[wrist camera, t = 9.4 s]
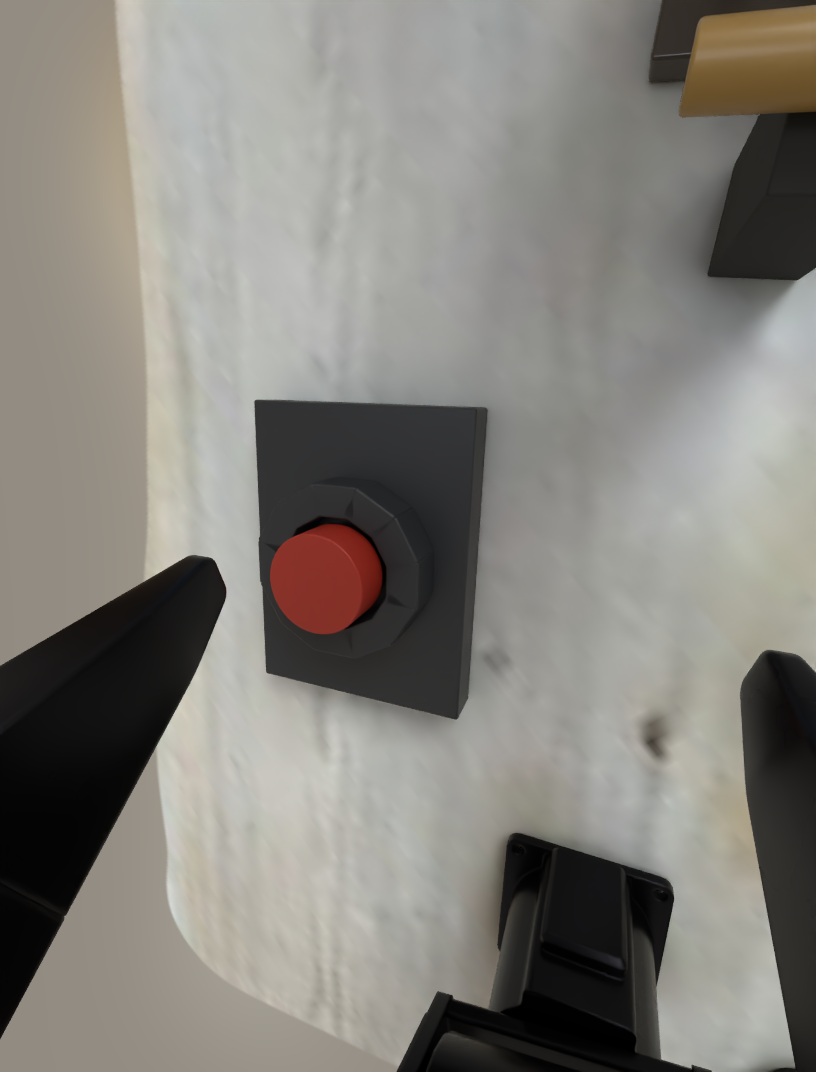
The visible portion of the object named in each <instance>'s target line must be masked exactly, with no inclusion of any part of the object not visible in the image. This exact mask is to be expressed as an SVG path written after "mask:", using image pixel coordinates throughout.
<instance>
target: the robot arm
mask: <svg viewBox="0 0 816 1072" xmlns="http://www.w3.org/2000/svg"><path fill="white" fill-rule="evenodd" d="M225 599H226V586H225V584H224V581H223V579H222V576H221V574H220V572H219V569H218V567H217V564H216V562H215V561H214V560H213V559H212V558H209V557H203V556H197V555H191V556H188V557H186V558H184V559H182V560H181V561H179V562H177V563H175V564H174V565H172V566H170V567H169V568H167V569H165V570H163V571H162V572H160V573H158V574H157V575H155V576H153V577H151V578H150V579H148V580H146V581H145V582H143V583H141V584H140V585H138V586H136V587H134V588H133V589H131V590H129V591H128V592H126V593H124V594H122V595H121V596H119V597H117V598H116V599H114V600H112V601H110V602H109V603H107V604H105V605H104V606H102V607H100V608H98V609H97V610H95V611H93V612H92V613H90V614H88V615H86V616H85V617H83V618H81V619H80V620H78V621H76V622H74V623H73V624H71V625H69V626H68V627H66V628H64V629H62V630H61V631H59V632H57V633H56V634H54V635H52V636H51V637H49V638H47V639H45V640H44V641H42V642H40V643H38V644H37V645H35V646H33V647H32V648H30V649H28V650H26V651H25V652H23V653H21V654H20V655H18V656H16V657H14V658H13V659H11V660H9V661H8V662H6V663H4V664H3V665H1V666H0V1038H1V1037H2V1035H3V1033H4V1031H5V1029H6V1027H7V1025H8V1024H9V1022H10V1020H11V1018H12V1016H13V1014H14V1012H15V1010H16V1008H17V1007H18V1005H19V1003H20V1001H21V999H22V997H23V995H24V994H25V992H26V990H27V988H28V986H29V984H30V982H31V980H32V979H33V977H34V975H35V973H36V971H37V969H38V968H39V966H40V964H41V962H42V960H43V958H44V956H45V954H46V952H47V951H48V949H49V947H50V945H51V943H52V941H53V939H54V938H55V936H56V934H57V932H58V930H59V928H60V926H61V924H62V923H63V921H64V916H65V915H66V914H67V913H68V911H69V909H70V906H71V905H72V903H73V901H74V899H75V898H76V896H77V894H78V892H79V890H80V888H81V886H82V885H83V883H84V881H85V879H86V877H87V875H88V873H89V871H90V869H91V867H92V866H93V864H94V862H95V860H96V858H97V856H98V855H99V853H100V851H101V849H102V847H103V845H104V843H105V841H106V840H107V838H108V836H109V834H110V832H111V830H112V828H113V827H114V825H115V823H116V821H117V819H118V817H119V815H120V813H121V811H122V810H123V808H124V806H125V804H126V802H127V800H128V798H129V796H130V795H131V793H132V791H133V789H134V787H135V785H136V783H137V781H138V780H139V778H140V776H141V774H142V772H143V770H144V768H145V767H146V765H147V763H148V761H149V759H150V757H151V755H152V753H153V752H154V750H155V748H156V746H157V744H158V742H159V740H160V739H161V737H162V735H163V733H164V731H165V729H166V727H167V725H168V724H169V722H170V720H171V718H172V716H173V714H174V712H175V710H176V709H177V707H178V705H179V703H180V701H181V699H182V697H183V695H184V694H185V692H186V690H187V688H188V686H189V684H190V682H191V680H192V678H193V676H194V674H195V672H196V670H197V668H198V666H199V663H200V661H201V659H202V656H203V654H204V651H205V649H206V646H207V644H208V641H209V639H210V636H211V634H212V632H213V629H214V627H215V624H216V622H217V619H218V617H219V614H220V612H221V609H222V607H223V604H224V602H225ZM740 699H741V717H742V735H743V752H744V770H745V784H746V795H747V802H748V808H749V814H750V820H751V825H752V831H753V836H754V842H755V847H756V853H757V858H758V864H759V869H760V875H761V880H762V886H763V891H764V897H765V902H766V908H767V913H768V919H769V924H770V930H771V935H772V941H773V946H774V952H775V957H776V963H777V968H778V974H779V979H780V985H781V990H782V996H783V1001H784V1007H785V1012H786V1018H787V1023H788V1029H789V1034H790V1040H791V1045H792V1051H793V1056H794V1062H795V1067H796V1072H816V672H815V671H814V670H813V669H812V668H811V667H810V666H809V665H808V664H807V663H806V661H805V660H803V659H802V658H801V657H800V656H798V655H796V654H792V653H786V652H780V651H774V650H766V651H764V652H763V653H762V654H761V655H760V656H759V658H758V659H757V660H756V662H755V663H754V665H753V666H752V668H751V669H750V671H749V672H748V674H747V675H746V677H745V678H744V680H743V682H742V685H741V691H740ZM516 845H520V846H521V847H523V848H519V847H517V846H516ZM655 890H661V891H663V892H662V893H661V892H657V891H655ZM673 903H674V894H673V887H672V885H671V883H670V882H669V881H668V880H666V879H664V878H662V877H660V876H656V875H653V874H650V873H647V872H643V871H640V870H637V869H634V868H631V867H627V866H624V865H621V864H618V863H614V862H611V861H608V860H605V859H601V858H598V857H595V856H592V855H588V854H585V853H582V852H579V851H576V850H572V849H569V848H566V847H563V846H559V845H556V844H553V843H550V842H546V841H543V840H540V839H537V838H534V837H530V836H527V835H524V834H520V833H514V834H512V835H511V836H510V837H509V840H508V844H507V851H506V861H505V872H504V882H503V892H502V903H501V913H500V923H499V934H498V944H497V945H498V949H499V951H500V956H499V960H498V965H497V970H496V975H495V979H494V984H493V989H492V994H491V999H490V1003H489V1008H488V1009H486V1008H483V1007H479V1006H476V1005H472V1004H469V1003H466V1002H462V1001H459V1000H455V999H453V995H449V994H446V993H442V992H439V991H438V992H437V993H436V995H435V998H434V1000H433V1002H432V1004H431V1006H430V1008H429V1010H428V1012H426V1013H425V1015H424V1017H423V1019H422V1021H421V1023H420V1025H419V1027H418V1029H417V1031H416V1033H415V1035H414V1037H413V1039H412V1041H411V1043H410V1045H409V1047H408V1050H407V1052H406V1054H405V1056H404V1058H403V1060H402V1062H401V1064H400V1066H399V1068H398V1070H397V1072H712V1071H711V1070H708V1069H704V1068H701V1067H698V1066H694V1065H692V1069H691V1068H688V1067H684V1066H681V1065H678V1064H674V1063H671V1062H667V1061H664V1060H661V1050H660V1036H659V1021H658V1007H657V993H656V986H657V981H658V976H659V971H660V966H661V961H662V957H663V952H664V947H665V942H666V937H667V932H668V927H669V922H670V917H671V912H672V908H673Z"/></svg>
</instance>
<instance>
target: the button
mask: <svg viewBox="0 0 816 1072" xmlns="http://www.w3.org/2000/svg"><path fill="white" fill-rule="evenodd" d="M382 579H383V576H382V567H381V563H380V559H379V557H378V555H377V553H376V551H375V549H374V547H373V546H372V545H371V543H370V542H369V541H368V540H367V539H366V538H365V537H364V536H363V535H362V534H361V533H359V532H358V531H356V530H355V529H353V528H351V527H348V526H345V525H341V524H333V523H331V524H324V525H320V526H318V527H316V528H313V529H311V530H308V531H306V532H304V533H301V534H299V535H296V536H294V537H292V538H290V539H288V540H287V541H285V542H284V543H283V544H282V545H281V546H280V548H279V549H278V550H277V552H276V554H275V556H274V558H273V561H272V564H271V570H270V581H271V587H272V592H273V595H274V597H275V600H276V602H277V604H278V605H279V607H280V609H281V610H282V612H283V613H284V614H285V615H286V616H287V617H288V619H290V620H291V621H292V622H293V623H294V624H296V625H297V626H298V627H300V628H302V629H304V630H306V631H309V632H312V633H315V634H333V633H336V632H339V631H341V630H343V629H345V628H346V627H348V626H349V625H350V624H351V623H353V622H354V621H355V620H356V619H357V618H359V617H360V616H361V615H362V614H363V613H365V612H366V611H367V610H368V609H369V608H370V607H371V606H372V605H373V604H374V603H375V601H376V600H377V598H378V596H379V594H380V591H381V587H382Z"/></svg>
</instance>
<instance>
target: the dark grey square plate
mask: <svg viewBox="0 0 816 1072" xmlns="http://www.w3.org/2000/svg"><path fill="white" fill-rule="evenodd" d="M254 403H255V426H256V448H257V471H258V494H259V517H260V538H259V562H260V581H261V582H262V583H261V585H262V587H263V609H264V632H265V655H266V672H267V673H269V674H273V675H277V676H282V677H286V678H290V679H294V680H298V681H302V682H306V683H310V684H314V685H318V686H322V687H326V688H330V689H334V690H338V691H342V692H346V693H350V694H355V695H359V696H363V697H367V698H371V699H375V700H379V701H383V702H387V703H391V704H395V705H399V706H403V707H407V708H411V709H415V710H419V711H424V712H428V713H432V714H436V715H440V716H444V717H448V718H452V719H458V717H459V715H460V713H461V711H462V709H463V707H464V705H465V703H466V701H467V699H468V689H469V674H470V660H471V645H472V630H473V615H474V600H475V585H476V570H477V556H478V541H479V526H480V511H481V496H482V481H483V467H484V452H485V437H486V422H487V408H482V407H455V406H428V405H402V404H375V403H348V402H321V401H294V400H255V402H254ZM331 523H333V524H341V525H345V526H348V527H351V528H353V529H355V530H356V531H358V532H359V533H361V534H362V535H363V536H364V537H365V538H366V539H367V540H368V541H369V542H370V543H371V545H372V546H373V547H374V549H375V551H376V553H377V555H378V557H379V559H380V563H381V567H382V576H383V579H382V587H381V591H380V594H379V596H378V598H377V600H376V601H375V603H374V604H373V605H372V606H371V607H370V608H369V609H368V610H367V611H366V612H365V613H363V614H362V615H361V616H360V617H359V618H357V619H356V620H355V621H354V622H353V623H351V624H350V625H349V626H348V627H346V628H345V629H343V630H341V631H339V632H336V633H333V634H315V633H312V632H309V631H306V630H304V629H302V628H300V627H298V626H297V625H296V624H294V623H293V622H292V621H291V620H290V619H288V617H287V616H286V615H285V614H284V613H283V612H282V610H281V609H280V607H279V605H278V604H277V602H276V600H275V597H274V595H273V592H272V587H271V581H270V570H271V564H272V561H273V558H274V556H275V554H276V552H277V550H278V549H279V548H280V546H281V545H282V544H283V543H284V542H285V541H287V540H288V539H290V538H292V537H294V536H296V535H299V534H301V533H304V532H306V531H308V530H311V529H313V528H316V527H318V526H320V525H324V524H331Z"/></svg>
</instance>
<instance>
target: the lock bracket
mask: <svg viewBox="0 0 816 1072" xmlns="http://www.w3.org/2000/svg"><path fill="white" fill-rule="evenodd" d="M815 4H816V0H662V4H661V9H660V14H659V19H658V24H657V29H656V34H655V39H654V44H653V49H652V54H651V60H650V70H649V82H662V81H677V80H686V75H687V71H688V66H689V61H690V57H691V52H692V48H693V43H694V38H695V34H696V29H697V25H698V22H699V20H700V19H701V18H702V17H704V16H710V15H720V14H730V13H740V12H750V11H760V10H770V9H780V8H789V7H799V6H809V5H815Z"/></svg>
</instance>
